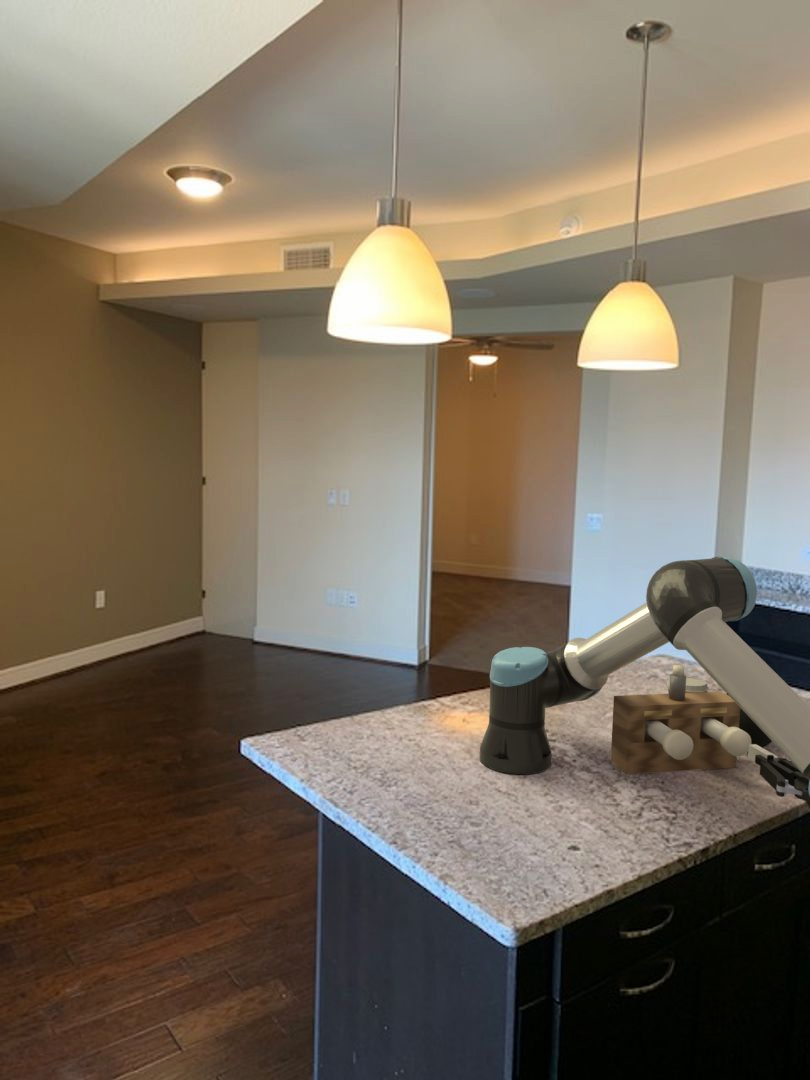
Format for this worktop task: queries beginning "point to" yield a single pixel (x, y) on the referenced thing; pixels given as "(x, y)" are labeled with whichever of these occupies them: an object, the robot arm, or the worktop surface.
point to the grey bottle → (677, 684)
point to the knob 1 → (670, 739)
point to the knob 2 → (727, 736)
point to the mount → (646, 754)
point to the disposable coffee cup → (693, 685)
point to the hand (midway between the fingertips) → (752, 751)
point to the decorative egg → (753, 730)
